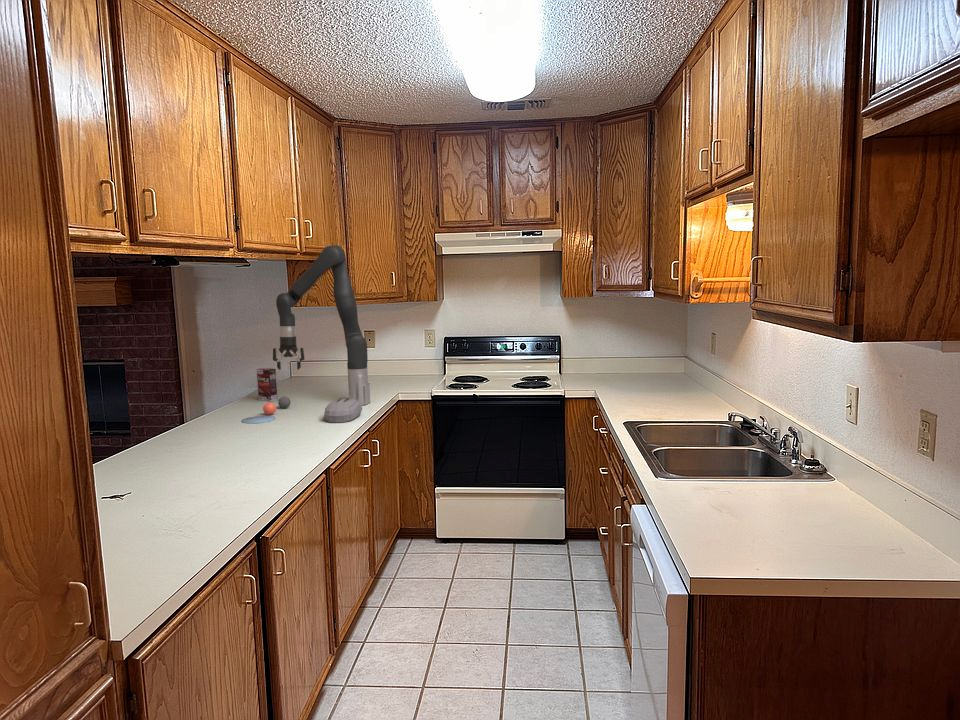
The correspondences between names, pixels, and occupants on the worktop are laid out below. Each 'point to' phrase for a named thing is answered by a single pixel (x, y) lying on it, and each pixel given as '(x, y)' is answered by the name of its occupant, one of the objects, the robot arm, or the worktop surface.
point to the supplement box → (267, 384)
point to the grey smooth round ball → (284, 402)
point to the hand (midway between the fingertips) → (289, 369)
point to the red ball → (269, 408)
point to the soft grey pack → (342, 410)
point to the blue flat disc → (258, 419)
